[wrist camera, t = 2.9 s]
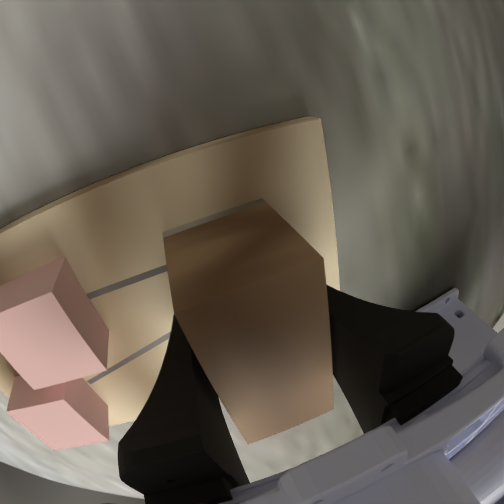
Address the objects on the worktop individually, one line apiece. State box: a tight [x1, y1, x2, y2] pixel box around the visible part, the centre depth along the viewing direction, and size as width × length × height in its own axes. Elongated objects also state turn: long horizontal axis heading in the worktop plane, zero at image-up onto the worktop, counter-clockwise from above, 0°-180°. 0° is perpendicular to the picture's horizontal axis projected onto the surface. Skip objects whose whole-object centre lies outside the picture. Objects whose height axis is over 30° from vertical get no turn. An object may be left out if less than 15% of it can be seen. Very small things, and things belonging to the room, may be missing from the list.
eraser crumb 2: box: [7, 375, 109, 450], centre depth 13 cm, size 4×4×2 cm
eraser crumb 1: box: [0, 257, 109, 390], centre depth 11 cm, size 4×4×2 cm
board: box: [0, 116, 340, 426], centre depth 14 cm, size 20×13×1 cm, turn 102°
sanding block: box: [162, 198, 334, 444], centre depth 12 cm, size 4×8×5 cm, turn 12°
